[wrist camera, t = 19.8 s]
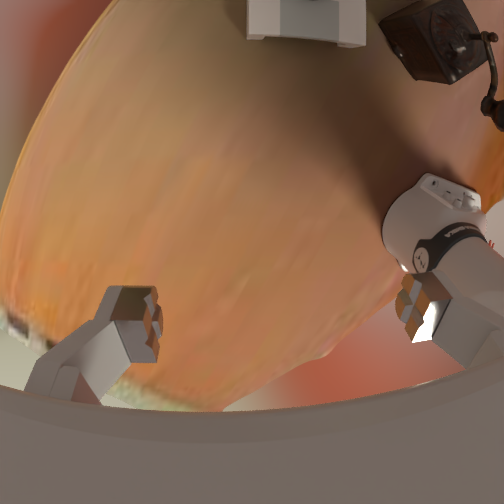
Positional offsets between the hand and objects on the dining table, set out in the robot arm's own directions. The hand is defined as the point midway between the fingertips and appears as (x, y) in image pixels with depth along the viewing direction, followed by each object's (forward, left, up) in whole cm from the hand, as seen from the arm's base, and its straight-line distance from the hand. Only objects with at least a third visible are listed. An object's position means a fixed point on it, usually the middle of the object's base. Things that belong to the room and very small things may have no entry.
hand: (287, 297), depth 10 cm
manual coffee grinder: (-27, -14, -34) cm, 46 cm away
